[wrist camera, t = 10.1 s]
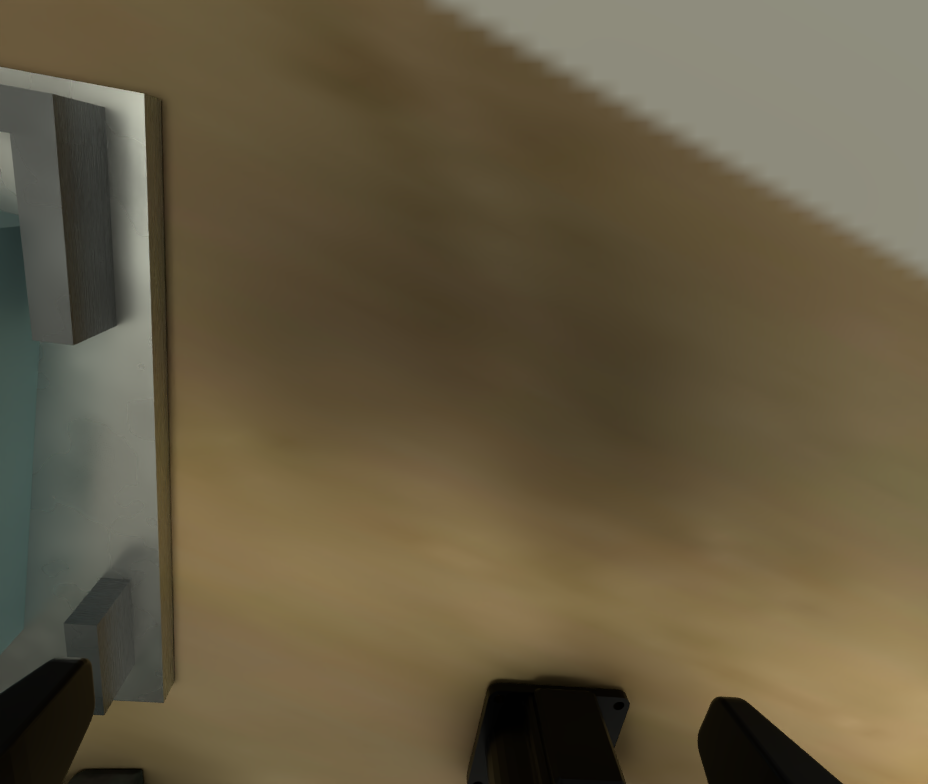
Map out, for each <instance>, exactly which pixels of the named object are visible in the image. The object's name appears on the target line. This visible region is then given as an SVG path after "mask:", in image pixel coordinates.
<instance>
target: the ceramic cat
mask: <svg viewBox="0 0 928 784" xmlns="http://www.w3.org/2000/svg"><path fill="white" fill-rule="evenodd" d="M68 784H143V775H142V770H85V771H82V772H80V773H77V774H76V775H75V776H74V777H73V778H72V779H71V781H70V782H69V783H68Z"/></svg>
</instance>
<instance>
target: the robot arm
mask: <svg viewBox="0 0 928 784" xmlns="http://www.w3.org/2000/svg"><path fill="white" fill-rule="evenodd" d="M629 704H630V703H629V701H628V698H627V696H626V694H625V692H623V691H621V690H611V689H594V688H578V687H561V686H545V685H528V684H512V683H495V684H493V685H491V686H490V687H489V688H488V690H487V693H486V697H485V702H484V706H483V710H482V714H481V718H480V722H479V727H478V731H477V735H476V739H475V743H474V747H473V752H472V756H471V760H470V764H469V768H468V772H467V784H626V782H625V779H624V776H623V773H622V770H621V767H620V764H619V762H618V759H617V756H616V753H615V750H614V747H615V744H616V742H617V739H618V736H619V733H620V731H621V728H622V725H623V722H624V720H625V717H626V714H627V711H628V709H629ZM94 709H95V693H94V682H93V671H92V664H91V662H90V661H89V660H88V659H86V658H78V657H56V658H53V659H51V660H49V661H47V662H46V663H44V664H43V665H41V666H40V667H38V668H37V669H35V670H34V671H32V672H31V673H29V674H28V675H26V676H25V677H23V678H22V679H20V680H19V681H17V682H16V683H14V684H13V685H11V686H10V687H9V688H7V689H6V690H4V691H3V692H1V693H0V784H62V783H63V781H64V779H65V777H66V774H67V772H68V770H69V768H70V766H71V763H72V761H73V759H74V757H75V755H76V753H77V750H78V748H79V746H80V744H81V742H82V740H83V737H84V735H85V733H86V731H87V729H88V727H89V724H90V722H91V719H92V716H93V713H94ZM698 749H699V754H700V757H701V760H702V764H703V767H704V770H705V774H706V777H707V780H708V784H843V783H841V782H840V781H839V780H838V779H837V778H836V777H834V776H833V775H832V774H831V773H830V772H829V771H827V770H826V769H825V768H824V767H823V766H822V765H820V764H819V763H818V762H817V761H816V760H815V759H813V758H812V757H811V756H810V755H809V754H807V753H806V752H805V751H804V750H803V749H802V748H800V747H799V746H798V745H797V744H796V743H795V742H793V741H792V740H791V739H790V738H789V737H788V736H786V735H785V734H784V733H783V732H782V731H781V730H779V729H778V728H777V727H776V726H775V725H774V724H772V723H771V722H770V721H769V720H768V719H767V718H765V717H764V716H763V715H762V714H761V713H760V712H758V711H757V710H756V709H755V708H754V707H752V706H751V705H750V704H749V703H748V702H746V701H745V700H743V699H741V698H736V697H716V698H715V699H714V700H713V701H712V702H711V704H710V707H709V709H708V711H707V714H706V716H705V718H704V721H703V723H702V725H701V727H700V730H699V733H698Z"/></svg>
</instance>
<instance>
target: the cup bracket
mask: <svg viewBox="0 0 928 784" xmlns="http://www.w3.org/2000/svg"><path fill="white" fill-rule="evenodd" d="M0 210H1V211H4V212H8V213H11V214H15V215H18V216H19V223H20V232H21V241H22V250H23V260H24V269H25V278H26V287H27V296H28V305H29V314H30V323H31V332H32V340H34V341H40V345H39V363H38V381H37V399H36V417H35V435H34V453H33V471H32V489H31V507H30V526H29V544H28V562H27V580H26V598H25V616H24V629H23V630H22V631H21V632H20V634H19V635H18V636H17V637H16V638H15V639H14V640H13V641H12V642H11V644H10V645H9V646H8V647H7V648H6V649H5V650H4V651H3V652H2V654H1V655H0V693H1V692H3V691H4V690H6V689H7V688H9V687H10V686H11V685H13V684H14V683H16V682H17V681H19V680H20V679H22V678H23V677H25V676H26V675H28V674H29V673H31V672H32V671H34V670H35V669H37V668H38V667H40V666H41V665H43V664H44V663H46V662H47V661H49V660H51V659H53V658H56V657H78V658H86V659H88V660H89V661H90V662H91V664H92V671H93V682H94V693H95V709H94V713H93V715H105V713H106V711H107V710H108V708H109V706H110V705H111V703H112V701H113V700H119V701H138V702H158V703H164V701H165V699H166V697H167V695H168V693H169V691H170V689H171V687H172V685H173V683H174V648H173V604H172V560H171V517H170V473H169V429H168V385H167V341H166V298H165V254H164V210H163V166H162V122H161V99H158V98H155V97H152V96H149V95H146V94H143V93H138V92H132V91H127V90H122V89H116V88H111V87H106V86H100V85H95V84H89V83H84V82H79V81H73V80H68V79H63V78H57V77H52V76H47V75H41V74H36V73H30V72H25V71H20V70H14V69H9V68H4V67H0Z"/></svg>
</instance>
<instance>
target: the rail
mask: <svg viewBox="0 0 928 784" xmlns="http://www.w3.org/2000/svg"><path fill="white" fill-rule="evenodd" d="M39 345H40V341H34V340H32V332H31V323H30V314H29V305H28V296H27V287H26V278H25V269H24V260H23V250H22V241H21V232H20V223H19V216H18V215H15V214H11V213H8V212H4V211H1V210H0V655H1V654H2V652H3V651H4V650H5V649H6V648H7V647H8V646H9V645H10V644H11V642H12V641H13V640H14V639H15V638H16V637H17V636H18V635H19V634H20V632H21V631H22V630H23V629H24V616H25V598H26V580H27V562H28V544H29V526H30V507H31V489H32V471H33V453H34V435H35V417H36V399H37V381H38V363H39Z"/></svg>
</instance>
